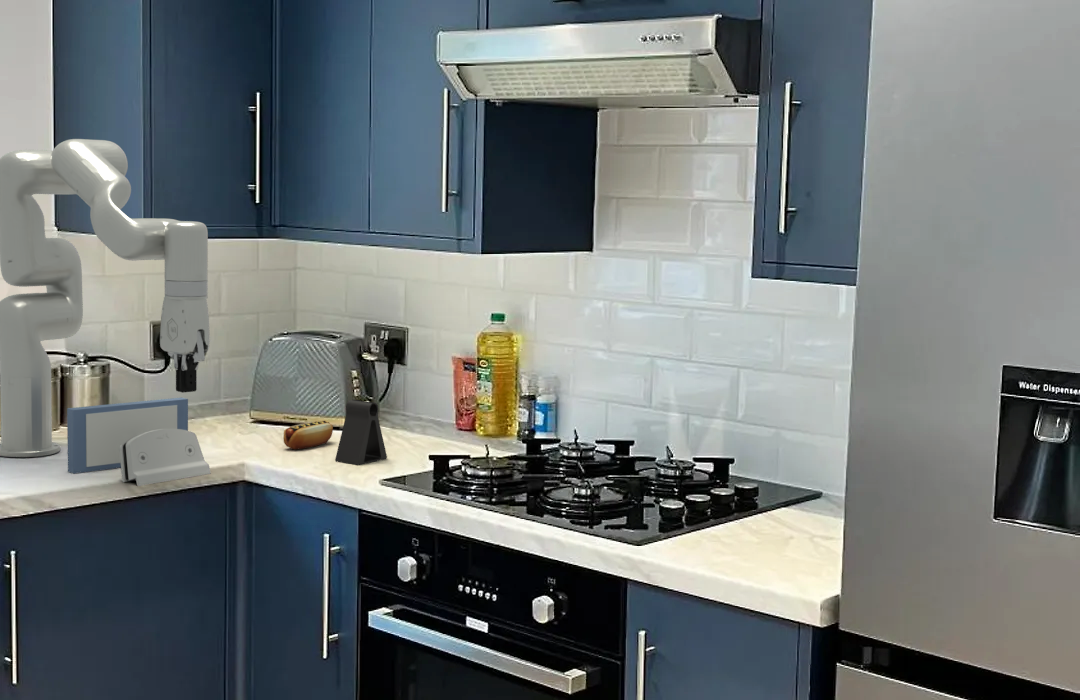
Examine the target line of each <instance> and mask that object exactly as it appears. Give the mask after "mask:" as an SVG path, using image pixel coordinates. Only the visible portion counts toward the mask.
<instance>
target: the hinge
mask: <svg viewBox="0 0 1080 700" xmlns="http://www.w3.org/2000/svg"><path fill="white" fill-rule="evenodd" d="M119 451H120V462H121V468H120V472H121V473H120V474H121V482H122V483H127V482H132V481H136V485H137V486H138V487H141V486H146V485H152V484H158V483H163V482H164V483H165V482H169V481H170V482H171V481H176V480H180V479H187V478H192V477H193V478H194V477H199V476H204V475H210V474H212V472H211V468H210V464H209V463H208V462H207V461H206V460H205V457H204V454H203V451H202V448H201V446H200V443H199V440H198V437H197V434H196V433H195V432H193V431H191V430H188V431H187V430H182V429H158V430H153V431H148V432H145V433H143V434H140V435H137V436H135V437H133V438H131V439H129V440H127V441H126V442H124V443H123V444H122V445H121V446H120V448H119Z"/></svg>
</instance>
